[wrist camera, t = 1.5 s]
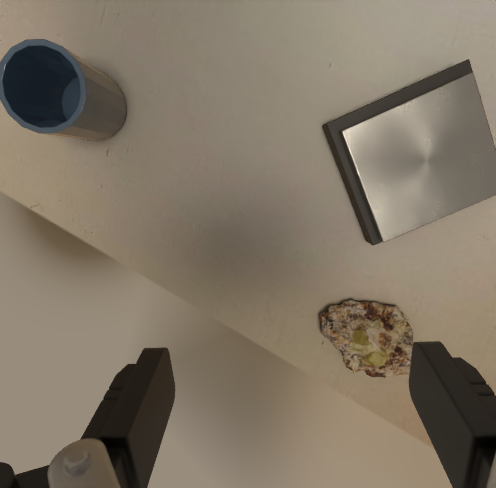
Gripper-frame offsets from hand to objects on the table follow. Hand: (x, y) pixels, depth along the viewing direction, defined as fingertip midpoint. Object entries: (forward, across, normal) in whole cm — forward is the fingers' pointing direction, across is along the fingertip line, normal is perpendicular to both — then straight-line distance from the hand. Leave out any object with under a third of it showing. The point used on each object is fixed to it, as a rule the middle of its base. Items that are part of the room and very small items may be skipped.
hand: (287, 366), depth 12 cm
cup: (+26, +16, -9) cm, 31 cm away
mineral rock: (+24, -8, +15) cm, 29 cm away
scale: (+27, -13, -2) cm, 30 cm away
